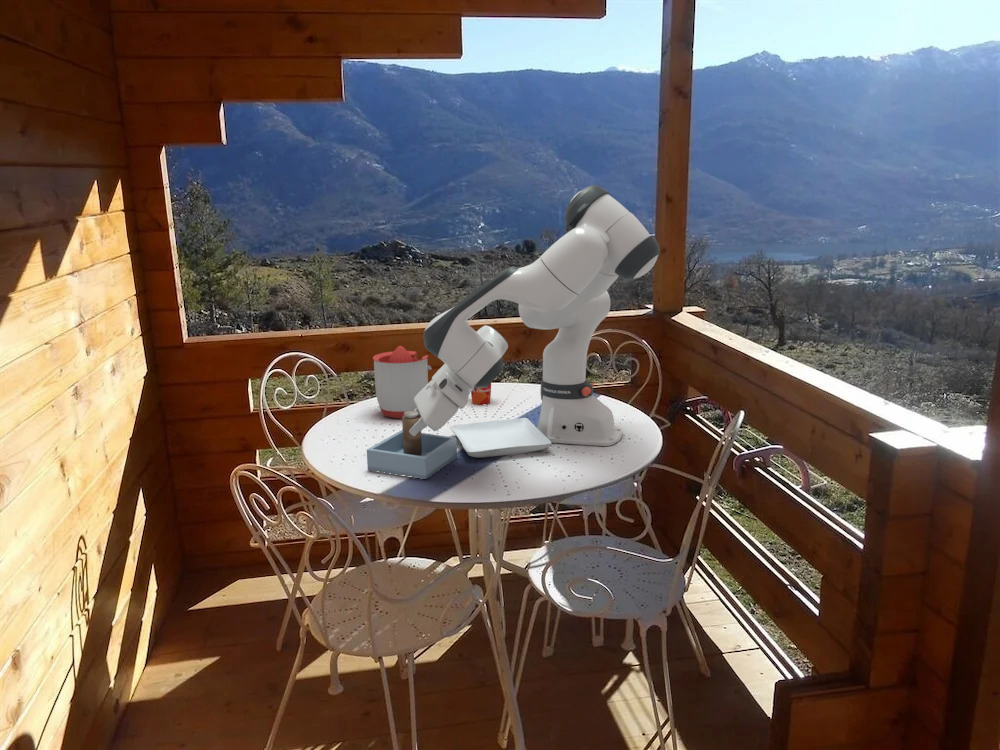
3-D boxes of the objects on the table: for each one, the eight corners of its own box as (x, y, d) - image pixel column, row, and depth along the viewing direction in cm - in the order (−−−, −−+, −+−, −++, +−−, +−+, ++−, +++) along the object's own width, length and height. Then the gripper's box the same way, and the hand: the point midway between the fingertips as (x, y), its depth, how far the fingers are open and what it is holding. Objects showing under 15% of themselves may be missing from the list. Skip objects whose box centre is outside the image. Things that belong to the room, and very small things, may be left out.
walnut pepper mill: (425, 452, 158) (423, 411, 156) (416, 458, 154) (414, 416, 152) (409, 450, 160) (407, 409, 157) (400, 456, 156) (398, 414, 153)
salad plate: (467, 465, 158) (467, 451, 157) (449, 436, 178) (448, 424, 177) (553, 455, 163) (553, 442, 162) (526, 429, 183) (526, 417, 182)
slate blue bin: (456, 457, 161) (456, 437, 160) (426, 480, 148) (425, 458, 147) (402, 449, 167) (401, 430, 166) (367, 470, 154) (366, 449, 152)
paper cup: (467, 406, 204) (466, 360, 201) (469, 399, 211) (468, 355, 208) (493, 406, 204) (493, 360, 200) (494, 399, 211) (494, 355, 208)
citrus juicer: (445, 413, 197) (443, 345, 192) (393, 425, 186) (390, 353, 182) (416, 401, 209) (413, 337, 204) (365, 412, 198) (361, 345, 193)
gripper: (433, 366, 164) (394, 408, 164) (448, 387, 145) (404, 435, 145) (452, 383, 166) (414, 424, 166) (469, 406, 147) (425, 453, 147)
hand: (409, 429), depth 155 cm, fingers closed on walnut pepper mill, 4 cm apart
